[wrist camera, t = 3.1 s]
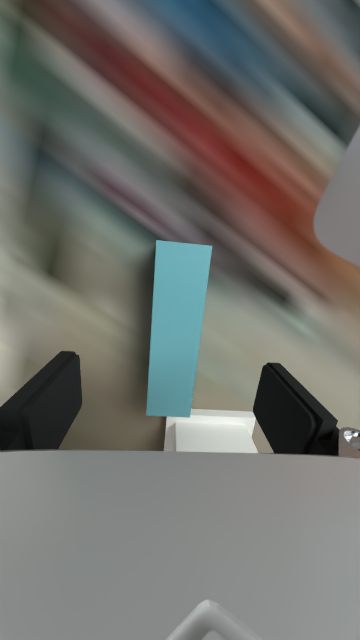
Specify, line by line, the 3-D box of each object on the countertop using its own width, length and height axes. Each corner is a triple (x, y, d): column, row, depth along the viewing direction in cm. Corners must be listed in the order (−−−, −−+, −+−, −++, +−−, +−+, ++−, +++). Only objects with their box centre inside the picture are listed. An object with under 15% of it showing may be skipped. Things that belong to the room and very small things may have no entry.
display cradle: (252, 411, 25) (277, 458, 19) (228, 516, 30) (242, 579, 24) (167, 407, 24) (166, 455, 18) (157, 516, 29) (154, 580, 23)
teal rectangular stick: (203, 248, 19) (212, 245, 15) (186, 388, 24) (189, 417, 19) (159, 244, 19) (156, 240, 15) (150, 386, 23) (146, 415, 19)
